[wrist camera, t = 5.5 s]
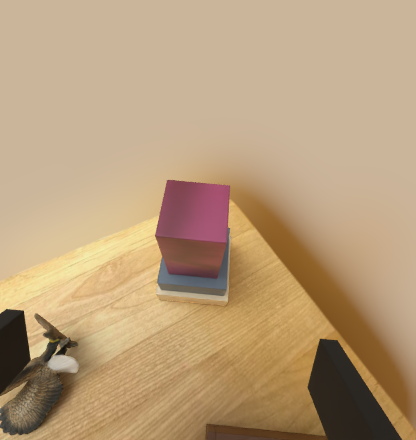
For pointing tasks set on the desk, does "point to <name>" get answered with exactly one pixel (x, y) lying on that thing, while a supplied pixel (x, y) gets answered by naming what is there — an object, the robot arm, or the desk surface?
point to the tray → (253, 434)
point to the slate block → (196, 279)
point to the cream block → (194, 296)
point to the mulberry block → (193, 228)
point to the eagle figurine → (38, 384)
